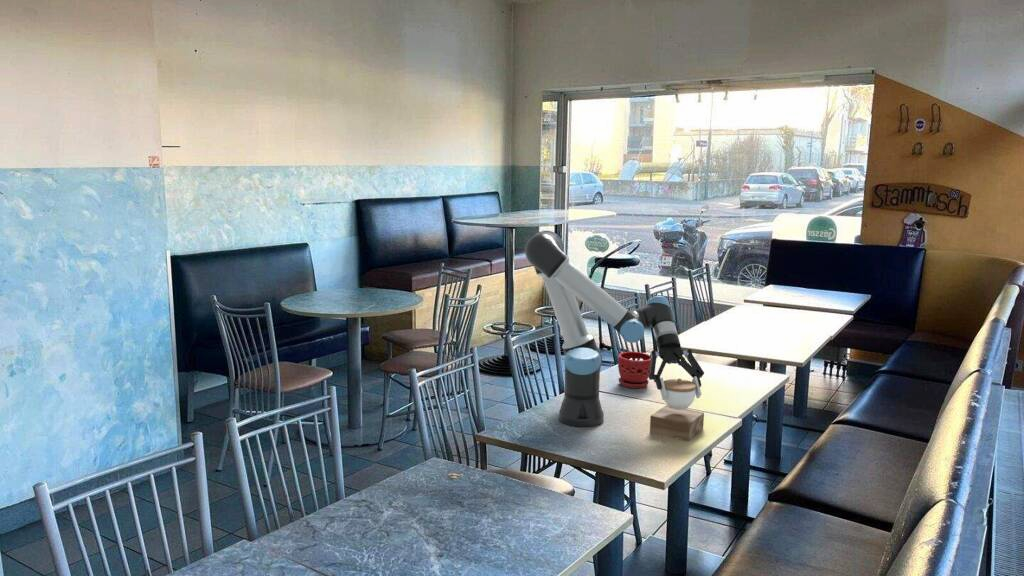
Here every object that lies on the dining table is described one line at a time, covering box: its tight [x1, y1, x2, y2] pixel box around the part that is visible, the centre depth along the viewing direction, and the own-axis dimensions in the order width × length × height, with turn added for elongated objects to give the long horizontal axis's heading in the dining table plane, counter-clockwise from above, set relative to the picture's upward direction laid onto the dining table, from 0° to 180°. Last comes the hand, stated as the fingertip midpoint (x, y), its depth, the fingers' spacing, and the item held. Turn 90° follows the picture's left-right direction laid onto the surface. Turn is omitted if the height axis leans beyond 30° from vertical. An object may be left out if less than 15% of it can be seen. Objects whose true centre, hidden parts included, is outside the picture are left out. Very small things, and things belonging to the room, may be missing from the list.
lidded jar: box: [663, 378, 696, 410], centre depth 235 cm, size 11×11×9 cm
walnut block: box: [649, 404, 705, 442], centre depth 236 cm, size 13×13×6 cm
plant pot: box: [617, 351, 651, 389], centre depth 285 cm, size 13×13×12 cm
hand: (682, 397), depth 232 cm, fingers closed on lidded jar, 11 cm apart
